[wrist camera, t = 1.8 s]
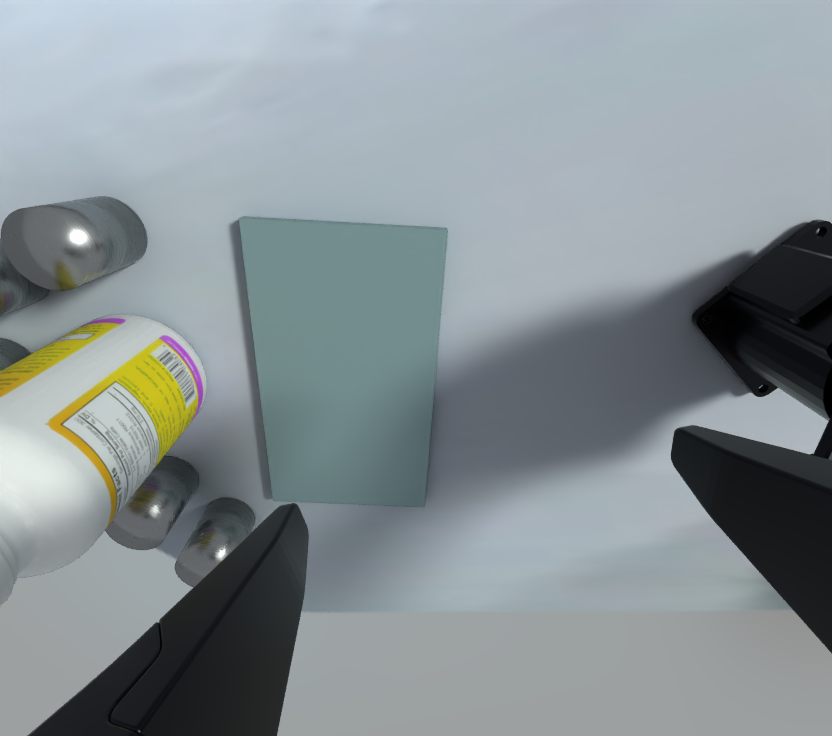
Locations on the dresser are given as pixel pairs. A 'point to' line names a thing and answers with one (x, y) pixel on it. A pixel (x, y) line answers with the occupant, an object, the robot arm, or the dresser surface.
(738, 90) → the dresser surface
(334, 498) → the rubber mat
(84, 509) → the supplement bottle
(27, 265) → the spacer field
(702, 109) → the dresser surface
